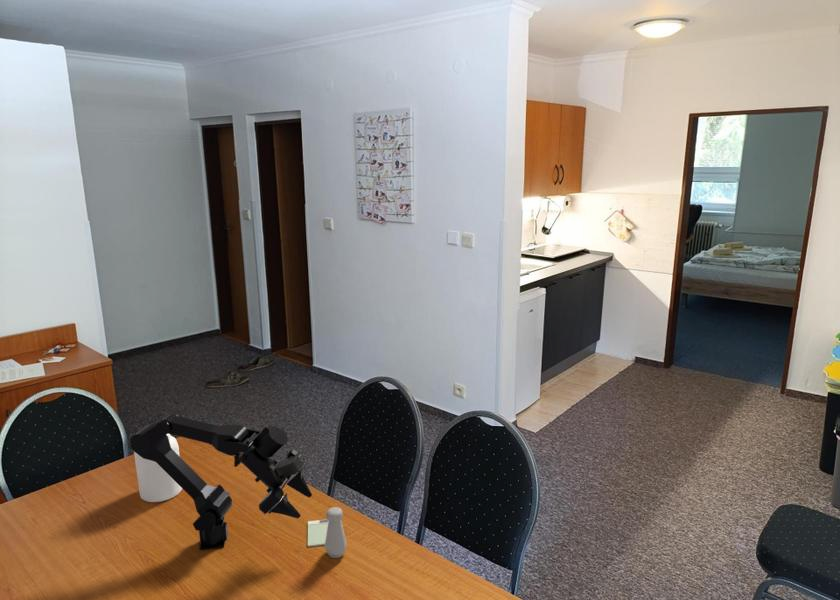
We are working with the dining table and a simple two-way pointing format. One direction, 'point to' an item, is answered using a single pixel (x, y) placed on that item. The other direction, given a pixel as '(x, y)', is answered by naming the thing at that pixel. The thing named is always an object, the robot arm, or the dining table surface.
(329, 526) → the salt shaker
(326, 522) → the pad
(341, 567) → the dining table surface
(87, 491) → the dining table surface
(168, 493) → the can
